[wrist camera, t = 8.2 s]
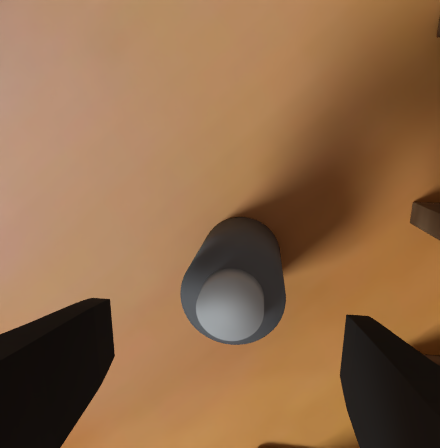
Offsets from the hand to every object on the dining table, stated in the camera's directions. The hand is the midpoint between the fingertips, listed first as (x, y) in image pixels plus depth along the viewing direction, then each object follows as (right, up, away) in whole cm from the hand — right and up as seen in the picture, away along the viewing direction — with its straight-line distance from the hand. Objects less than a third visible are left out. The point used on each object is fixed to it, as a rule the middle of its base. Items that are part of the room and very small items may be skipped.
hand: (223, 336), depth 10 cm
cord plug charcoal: (+1, +2, +7) cm, 8 cm away
